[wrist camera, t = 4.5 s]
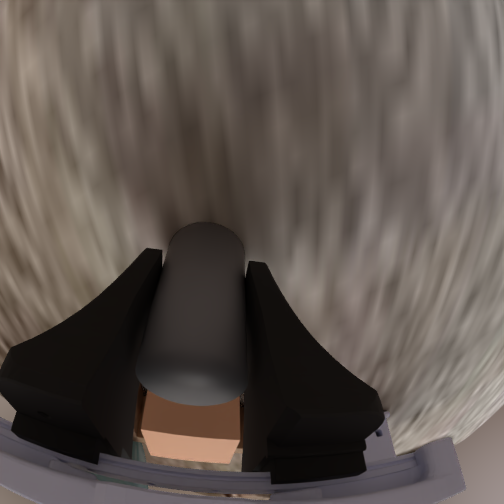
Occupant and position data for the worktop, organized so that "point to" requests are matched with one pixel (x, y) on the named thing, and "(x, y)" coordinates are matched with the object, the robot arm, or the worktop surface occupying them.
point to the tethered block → (196, 348)
